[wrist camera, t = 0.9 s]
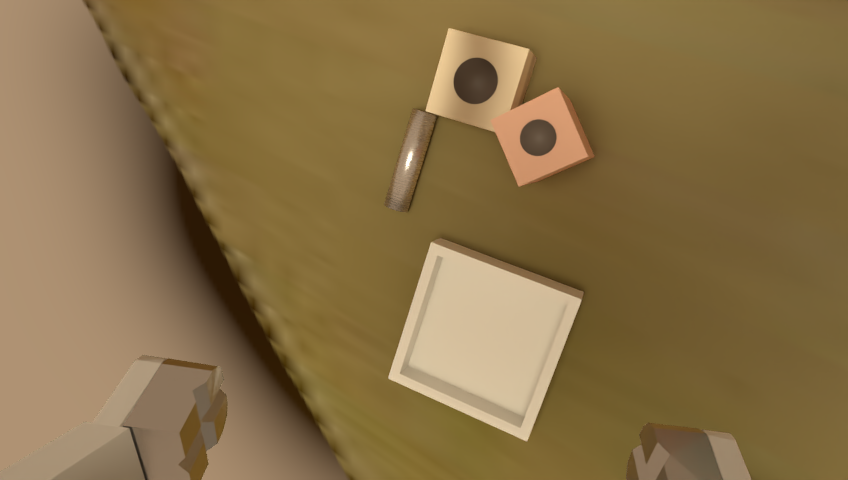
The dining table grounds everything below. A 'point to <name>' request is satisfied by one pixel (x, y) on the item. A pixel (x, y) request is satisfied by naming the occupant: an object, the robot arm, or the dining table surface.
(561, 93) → the tall block
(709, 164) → the dining table surface
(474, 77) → the low block
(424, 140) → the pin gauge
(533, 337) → the tray
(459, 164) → the dining table surface
